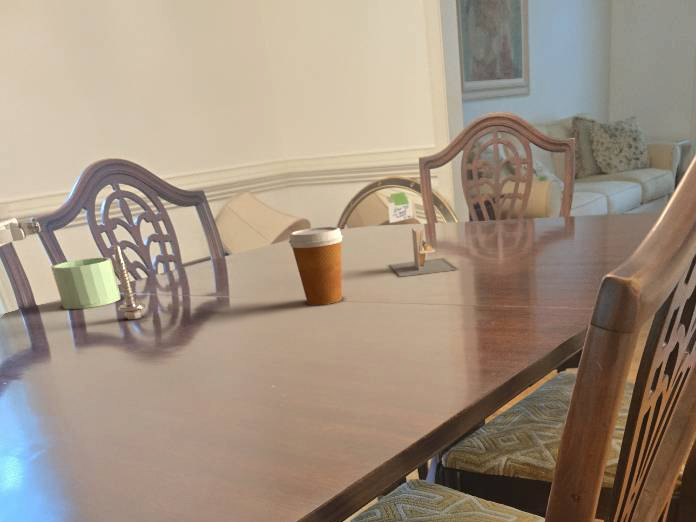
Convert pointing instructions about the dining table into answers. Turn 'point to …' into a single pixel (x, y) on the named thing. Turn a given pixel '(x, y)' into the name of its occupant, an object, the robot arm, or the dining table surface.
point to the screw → (126, 288)
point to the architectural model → (421, 259)
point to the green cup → (86, 283)
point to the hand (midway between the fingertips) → (31, 230)
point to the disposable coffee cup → (319, 263)
